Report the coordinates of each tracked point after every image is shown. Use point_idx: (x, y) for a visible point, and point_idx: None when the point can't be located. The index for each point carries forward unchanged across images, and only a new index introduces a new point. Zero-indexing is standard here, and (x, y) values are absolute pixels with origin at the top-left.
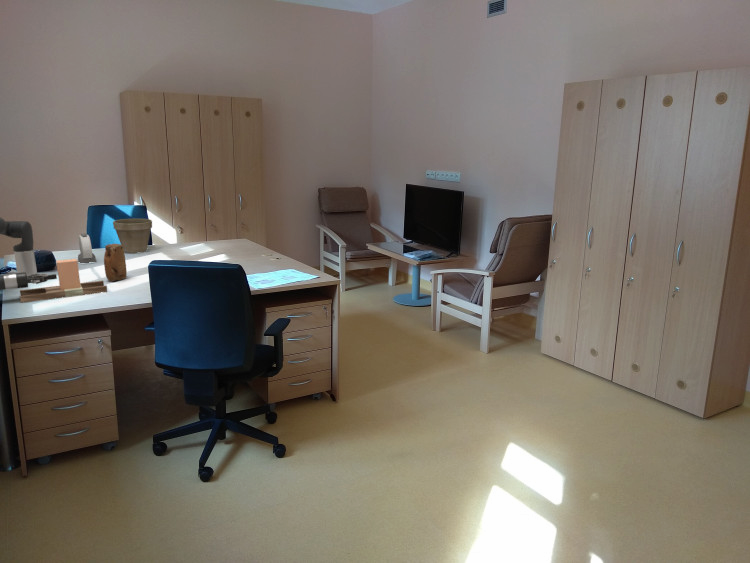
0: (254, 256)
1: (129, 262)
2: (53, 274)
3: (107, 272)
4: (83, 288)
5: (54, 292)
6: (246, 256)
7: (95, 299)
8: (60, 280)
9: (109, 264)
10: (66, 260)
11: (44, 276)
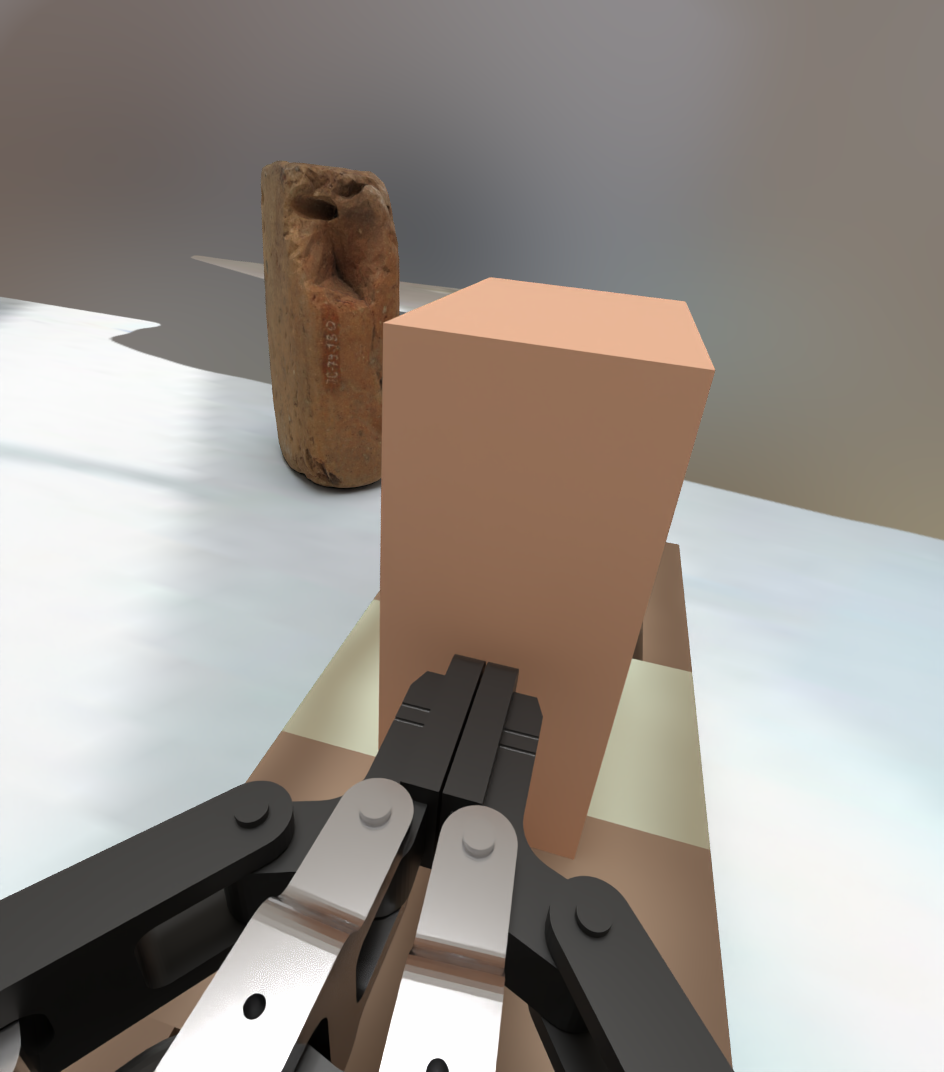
0: (430, 295)
1: (25, 351)
2: (453, 683)
3: (345, 423)
4: (657, 657)
5: (710, 1020)
6: (411, 296)
7: (931, 722)
8: (608, 727)
9: (368, 351)
10: (535, 305)
11: (605, 934)
